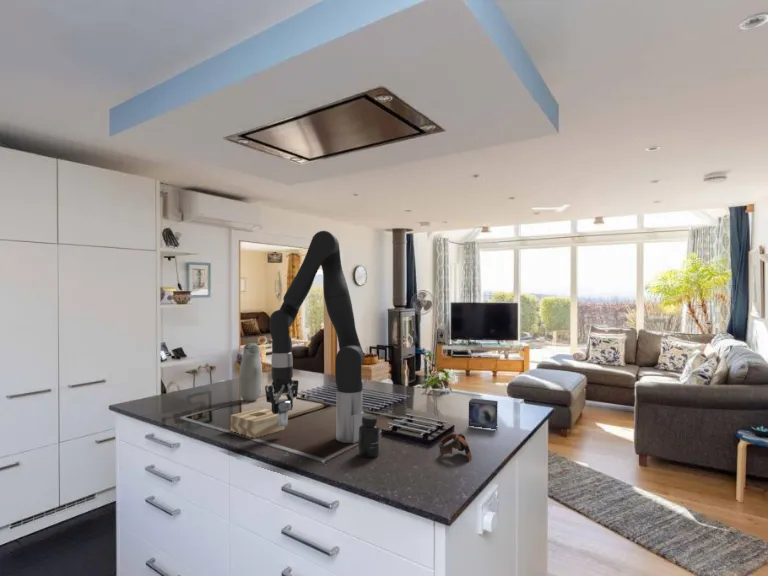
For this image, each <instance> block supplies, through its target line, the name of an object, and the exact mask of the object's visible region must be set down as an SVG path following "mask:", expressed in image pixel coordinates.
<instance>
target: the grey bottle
mask: <svg viewBox="0 0 768 576" xmlns="http://www.w3.org/2000/svg"><path fill="white" fill-rule="evenodd" d="M262 379H263V365H262V359H261V353H260V347H259V345H258V344H257V343H255V342H249V343H246V344H245V345H244V346H243V353H242V358H241V361H240V366H239V395H240V397H241V398H242V400H244V401H246V402H254V401H257V400H258V399H259V397H260V396H261V394H262V390H263V389H262V387H263V385H262V384H263V383H262V382H263V380H262Z"/></svg>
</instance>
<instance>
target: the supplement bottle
mask: <svg viewBox="0 0 768 576" xmlns="http://www.w3.org/2000/svg"><path fill="white" fill-rule="evenodd" d="M362 423H363V424H362V425H361V426H360V427H359V440H358V442H357V443H358V445H357V447H358V448H357V450H358V451H357V452H358V455H359V456H360V457H362V458H363V459H364V458H366V459H372V458H377V457H378V456H379V454H380V443H381V442H380V439H381V437H380V434H381V429H380V426H379V425H378V416H376V415H371V414H369V415H365V416H363V417H362Z"/></svg>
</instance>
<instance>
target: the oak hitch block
mask: <svg viewBox="0 0 768 576" xmlns="http://www.w3.org/2000/svg"><path fill="white" fill-rule="evenodd" d="M285 429H286V426H278V417H277V414H273V412H272V409H268V408H263V407H259V408H255V409H251V410H247V411H246V410H245V411H242V412H238V413H235V414H230V432H231V431H233V432H232V433H234V432H236V433H235V434H237V433H239V434H238V435H241V434H243V435H242V436H244V435H246V436H245V437H247V436H249V437H248V438H251V437H253V438H252V439H254V438H255V439H257V438H256V437H258V438H261V437H264V435H265V436H268V435H271V434H274V433H277V432H281V431H284V430H285ZM267 434H268V435H267ZM260 436H261V437H260Z"/></svg>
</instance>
